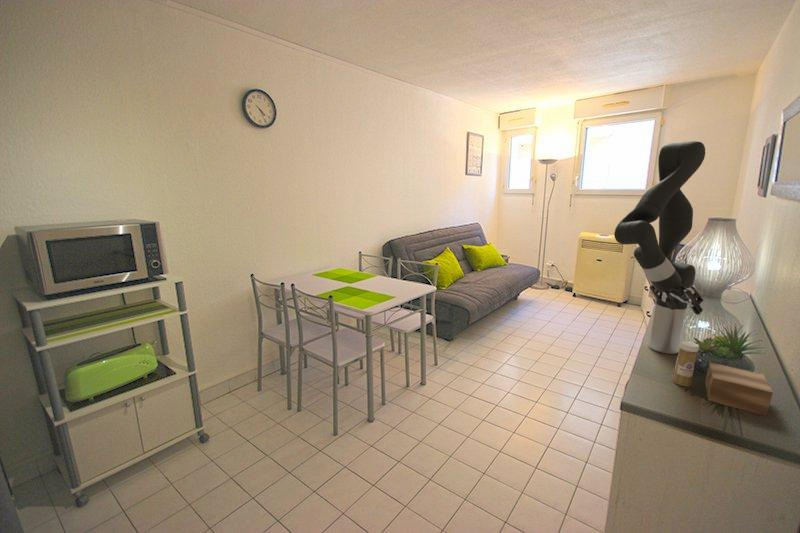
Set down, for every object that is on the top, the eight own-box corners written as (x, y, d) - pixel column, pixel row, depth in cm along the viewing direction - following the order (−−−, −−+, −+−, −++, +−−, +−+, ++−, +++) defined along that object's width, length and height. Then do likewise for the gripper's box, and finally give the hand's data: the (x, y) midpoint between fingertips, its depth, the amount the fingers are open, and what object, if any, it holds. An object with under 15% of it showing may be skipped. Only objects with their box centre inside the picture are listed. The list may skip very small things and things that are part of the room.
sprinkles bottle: (680, 387, 110) (688, 346, 107) (668, 379, 114) (676, 340, 112) (694, 387, 110) (703, 346, 107) (682, 379, 115) (690, 340, 112)
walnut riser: (705, 382, 113) (709, 362, 111) (757, 396, 106) (763, 374, 104) (708, 400, 103) (713, 378, 102) (766, 416, 96) (772, 392, 95)
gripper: (690, 266, 108) (717, 306, 110) (649, 263, 121) (673, 299, 124) (673, 283, 107) (700, 322, 110) (634, 278, 121) (658, 313, 123)
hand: (686, 310), depth 117 cm, fingers open, 8 cm apart
